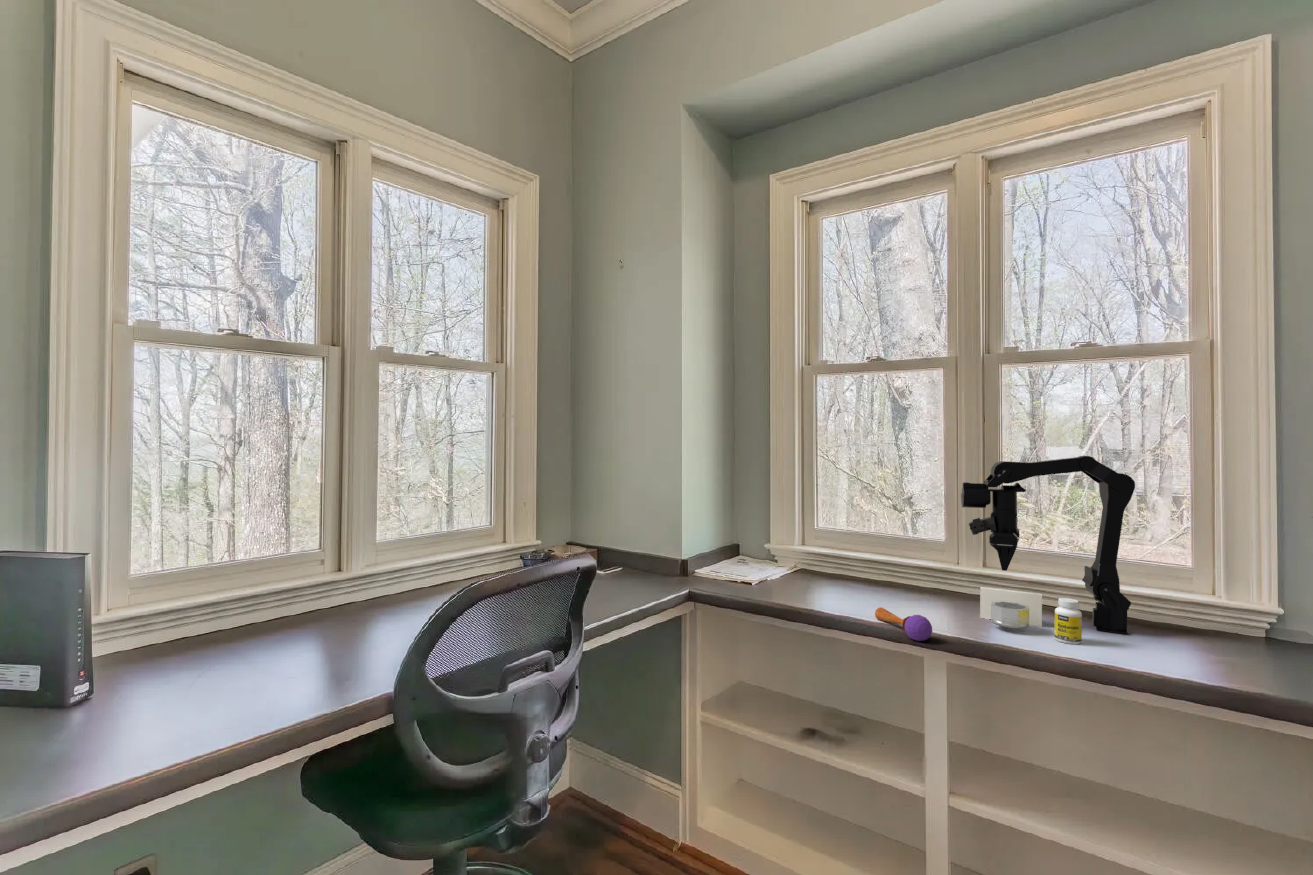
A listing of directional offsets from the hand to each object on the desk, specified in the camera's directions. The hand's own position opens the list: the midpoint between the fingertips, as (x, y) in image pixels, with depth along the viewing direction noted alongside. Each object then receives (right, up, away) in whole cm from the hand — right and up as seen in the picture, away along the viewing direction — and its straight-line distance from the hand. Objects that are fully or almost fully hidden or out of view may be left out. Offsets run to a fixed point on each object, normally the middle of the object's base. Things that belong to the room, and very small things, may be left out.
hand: (1005, 567), depth 165 cm
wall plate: (0, -14, -2) cm, 14 cm away
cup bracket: (-3, -12, -8) cm, 15 cm away
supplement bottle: (+5, -14, -18) cm, 23 cm away
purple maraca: (-32, -14, -11) cm, 36 cm away
